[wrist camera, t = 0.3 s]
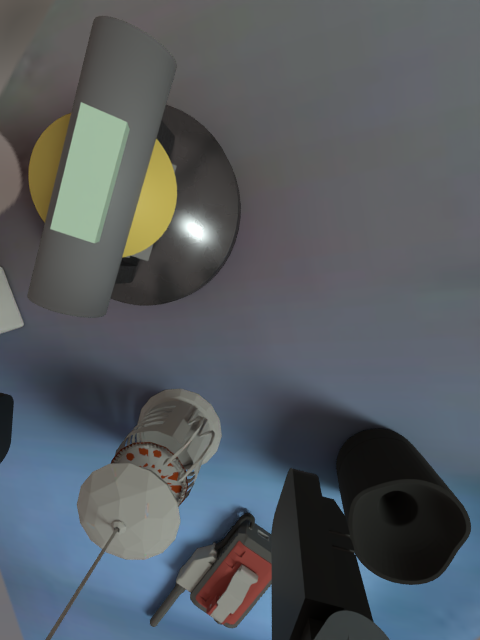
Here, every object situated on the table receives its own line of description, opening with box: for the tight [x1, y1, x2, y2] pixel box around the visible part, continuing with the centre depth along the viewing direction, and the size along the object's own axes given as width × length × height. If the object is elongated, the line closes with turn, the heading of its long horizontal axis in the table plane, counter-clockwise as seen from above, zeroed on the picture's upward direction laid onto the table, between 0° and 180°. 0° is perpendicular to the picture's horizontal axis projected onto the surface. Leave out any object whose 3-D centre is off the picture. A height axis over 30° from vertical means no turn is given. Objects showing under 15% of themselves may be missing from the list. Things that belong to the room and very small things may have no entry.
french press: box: [46, 389, 222, 640], centre depth 28 cm, size 10×12×25 cm
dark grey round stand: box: [111, 105, 241, 305], centre depth 33 cm, size 18×18×8 cm
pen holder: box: [336, 429, 471, 585], centre depth 33 cm, size 9×9×10 cm
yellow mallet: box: [27, 16, 177, 318], centre depth 22 cm, size 10×6×22 cm, turn 160°
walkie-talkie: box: [150, 513, 272, 628], centre depth 41 cm, size 9×4×20 cm
